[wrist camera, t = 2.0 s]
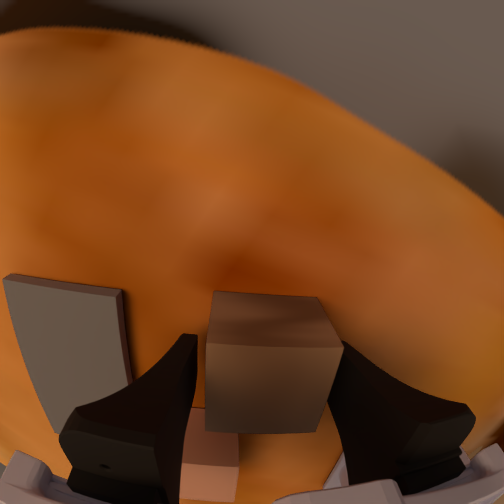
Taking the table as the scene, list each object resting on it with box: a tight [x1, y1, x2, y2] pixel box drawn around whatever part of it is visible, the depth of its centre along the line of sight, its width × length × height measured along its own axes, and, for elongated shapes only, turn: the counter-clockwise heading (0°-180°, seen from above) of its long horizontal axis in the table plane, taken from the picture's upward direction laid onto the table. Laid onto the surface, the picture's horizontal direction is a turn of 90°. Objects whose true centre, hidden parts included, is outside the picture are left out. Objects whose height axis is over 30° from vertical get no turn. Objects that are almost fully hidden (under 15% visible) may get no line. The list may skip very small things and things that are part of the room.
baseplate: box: [2, 274, 133, 434], centre depth 14 cm, size 7×12×1 cm, turn 174°
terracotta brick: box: [179, 408, 239, 502], centre depth 14 cm, size 5×5×4 cm
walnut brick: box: [205, 291, 344, 434], centre depth 12 cm, size 5×5×4 cm
